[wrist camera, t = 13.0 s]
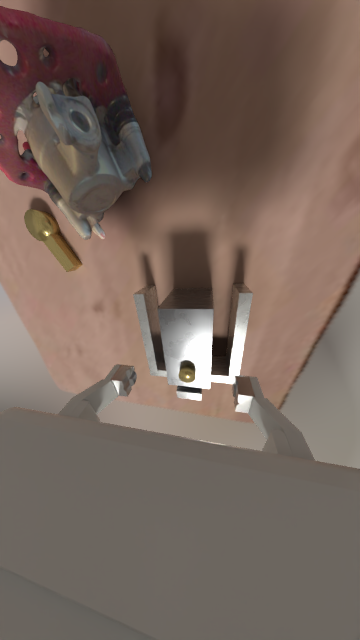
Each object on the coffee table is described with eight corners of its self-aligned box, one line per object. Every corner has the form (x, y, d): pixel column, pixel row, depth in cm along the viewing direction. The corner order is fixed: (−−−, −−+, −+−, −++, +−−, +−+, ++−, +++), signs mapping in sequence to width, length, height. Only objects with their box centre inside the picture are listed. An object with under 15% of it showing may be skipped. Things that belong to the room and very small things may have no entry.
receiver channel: (146, 285, 20) (118, 303, 13) (243, 283, 17) (263, 304, 11) (158, 357, 25) (142, 393, 19) (233, 362, 23) (241, 405, 17)
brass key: (33, 221, 18) (19, 220, 17) (46, 206, 17) (32, 202, 16) (72, 272, 21) (63, 274, 20) (86, 261, 20) (77, 262, 18)
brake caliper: (64, -74, 8) (-141, -447, 2) (168, 166, 17) (182, 219, 11) (-15, 102, 12) (-160, 135, 6) (102, 222, 21) (87, 282, 15)
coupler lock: (173, 288, 19) (154, 312, 12) (212, 288, 18) (213, 313, 11) (178, 348, 24) (166, 390, 17) (209, 350, 23) (210, 395, 16)
